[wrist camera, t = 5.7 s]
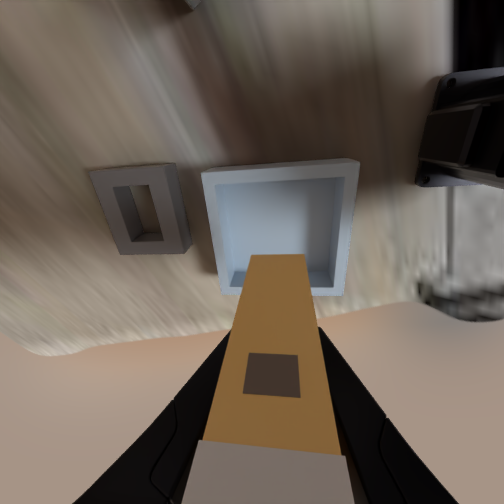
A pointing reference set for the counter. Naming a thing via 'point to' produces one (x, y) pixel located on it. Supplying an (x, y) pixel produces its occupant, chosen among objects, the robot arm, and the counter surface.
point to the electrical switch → (193, 3)
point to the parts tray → (283, 218)
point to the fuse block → (125, 214)
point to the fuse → (271, 401)
